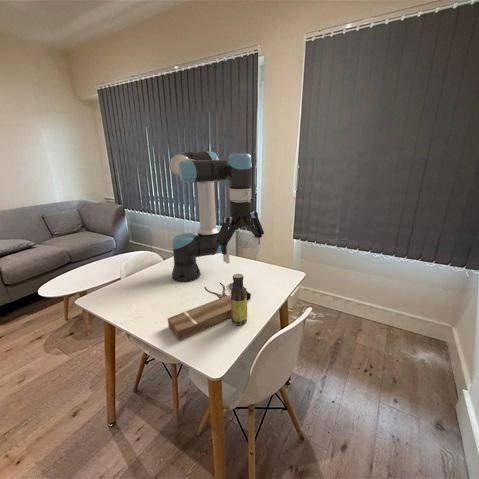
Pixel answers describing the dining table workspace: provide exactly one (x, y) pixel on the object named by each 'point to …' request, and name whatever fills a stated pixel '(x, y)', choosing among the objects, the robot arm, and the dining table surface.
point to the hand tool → (248, 294)
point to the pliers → (217, 293)
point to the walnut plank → (200, 318)
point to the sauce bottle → (238, 301)
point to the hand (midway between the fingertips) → (241, 257)
